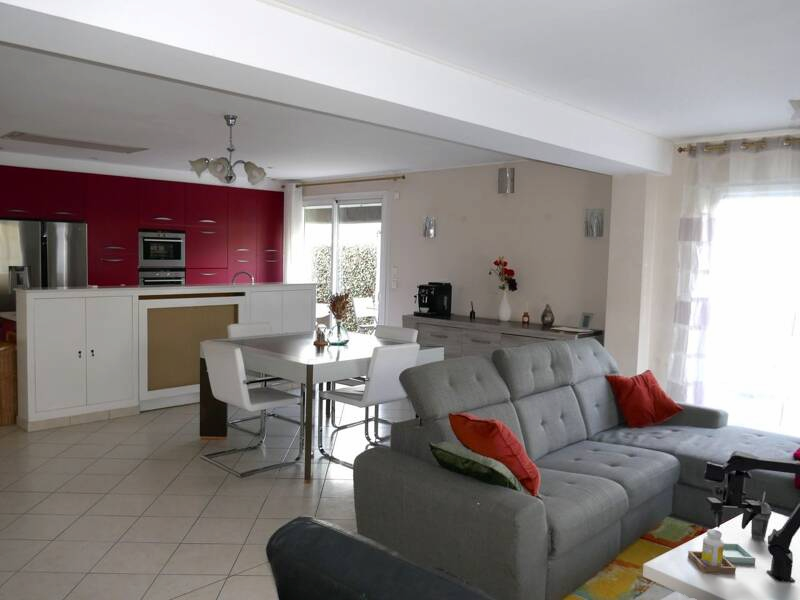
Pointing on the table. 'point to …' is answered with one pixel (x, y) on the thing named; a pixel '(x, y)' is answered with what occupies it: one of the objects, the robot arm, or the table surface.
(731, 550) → the tray
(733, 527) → the table surface
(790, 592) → the table surface
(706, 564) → the supplement bottle
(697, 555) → the brown wooden square frame
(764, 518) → the beverage cup
